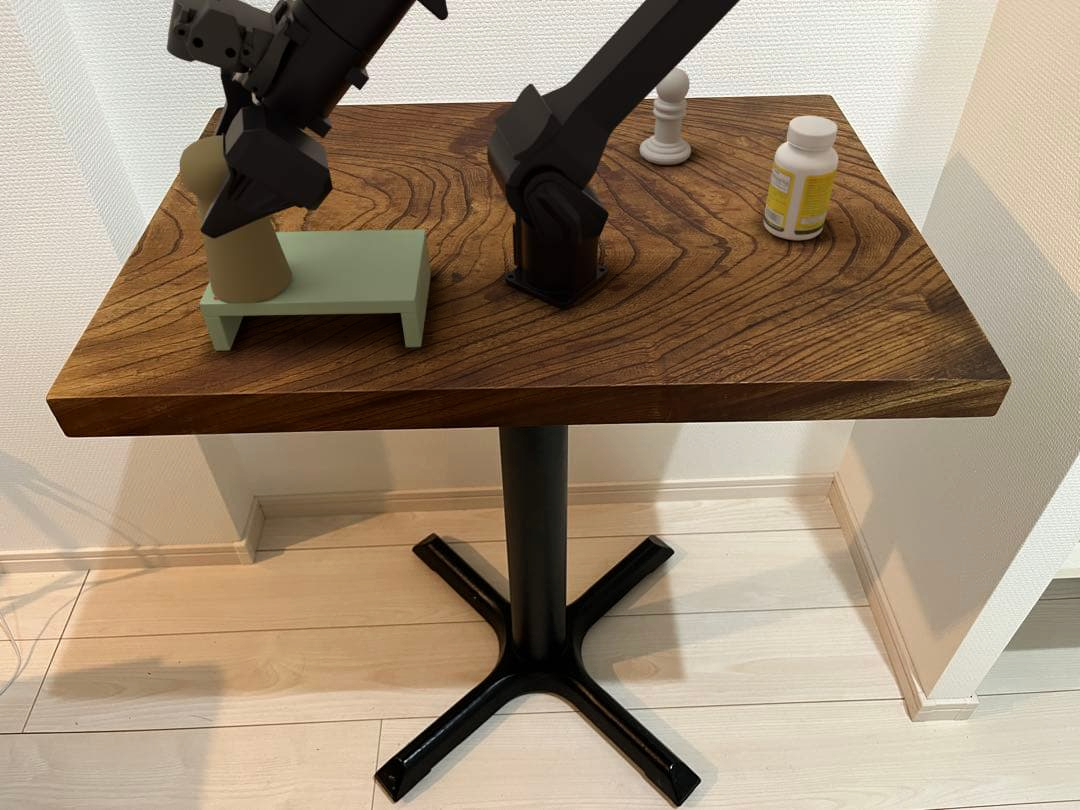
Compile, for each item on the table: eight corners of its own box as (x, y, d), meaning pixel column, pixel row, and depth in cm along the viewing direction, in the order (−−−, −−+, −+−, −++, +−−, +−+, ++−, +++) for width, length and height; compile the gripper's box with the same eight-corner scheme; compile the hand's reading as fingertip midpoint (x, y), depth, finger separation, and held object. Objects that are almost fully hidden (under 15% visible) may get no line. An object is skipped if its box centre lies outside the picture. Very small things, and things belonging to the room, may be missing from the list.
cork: (307, 266, 67) (276, 132, 59) (262, 310, 63) (223, 171, 55) (242, 252, 68) (204, 119, 61) (194, 293, 64) (147, 156, 57)
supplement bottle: (827, 219, 80) (852, 118, 74) (815, 247, 77) (840, 144, 70) (770, 207, 82) (789, 107, 75) (755, 234, 78) (774, 132, 72)
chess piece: (696, 148, 91) (707, 63, 85) (681, 170, 87) (690, 83, 81) (649, 139, 93) (656, 55, 87) (631, 160, 89) (637, 74, 83)
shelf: (421, 347, 67) (414, 297, 64) (214, 351, 67) (197, 301, 64) (430, 274, 74) (425, 226, 71) (245, 277, 74) (231, 230, 71)
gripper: (221, -103, 57) (103, 82, 62) (225, -18, 44) (75, 207, 49) (359, 9, 64) (242, 167, 69) (398, 112, 51) (250, 297, 56)
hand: (206, 203), depth 61 cm, fingers open, 8 cm apart
